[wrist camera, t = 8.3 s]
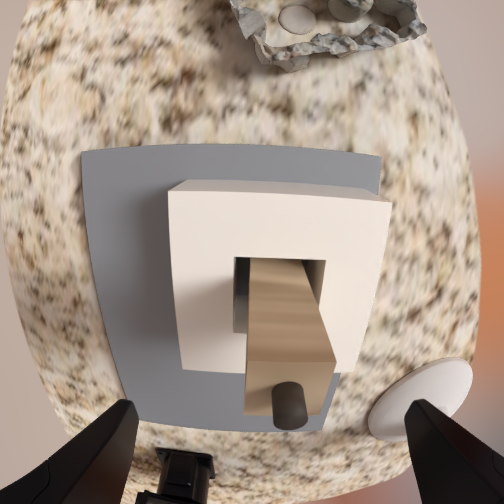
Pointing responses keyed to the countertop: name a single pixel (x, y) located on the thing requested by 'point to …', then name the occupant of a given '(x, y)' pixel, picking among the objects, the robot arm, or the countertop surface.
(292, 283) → the peg
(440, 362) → the candlestick
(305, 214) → the holder
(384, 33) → the egg carton
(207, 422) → the board
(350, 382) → the countertop surface
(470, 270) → the countertop surface
